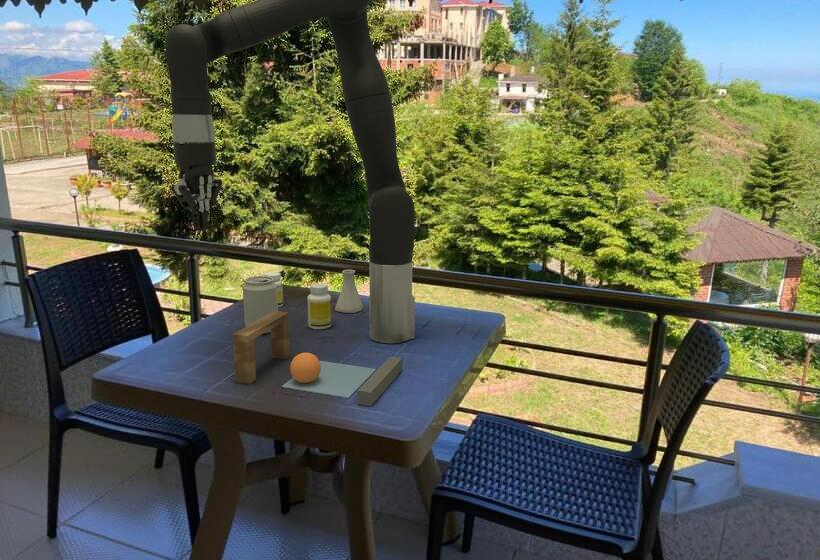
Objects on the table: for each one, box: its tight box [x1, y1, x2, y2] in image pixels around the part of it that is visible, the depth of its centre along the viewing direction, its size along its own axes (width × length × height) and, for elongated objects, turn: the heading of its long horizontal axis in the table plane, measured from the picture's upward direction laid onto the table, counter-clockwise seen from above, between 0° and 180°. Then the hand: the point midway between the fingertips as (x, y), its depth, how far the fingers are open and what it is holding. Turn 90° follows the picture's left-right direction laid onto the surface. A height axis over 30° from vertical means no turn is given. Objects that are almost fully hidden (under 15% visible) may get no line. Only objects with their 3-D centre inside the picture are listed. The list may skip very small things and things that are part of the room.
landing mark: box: [281, 360, 377, 399], centre depth 112 cm, size 13×13×1 cm
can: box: [242, 275, 279, 335], centre depth 136 cm, size 8×8×12 cm
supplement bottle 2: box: [306, 282, 333, 330], centre depth 139 cm, size 5×5×10 cm
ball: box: [289, 352, 321, 383], centre depth 110 cm, size 6×6×6 cm
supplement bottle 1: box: [263, 271, 284, 308], centre depth 154 cm, size 5×5×8 cm
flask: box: [334, 269, 364, 314], centre depth 152 cm, size 7×7×10 cm
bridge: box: [232, 310, 291, 385], centre depth 115 cm, size 3×14×9 cm, turn 161°
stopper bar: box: [356, 356, 403, 407], centre depth 109 cm, size 2×16×2 cm, turn 162°
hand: (201, 230), depth 119 cm, fingers closed
